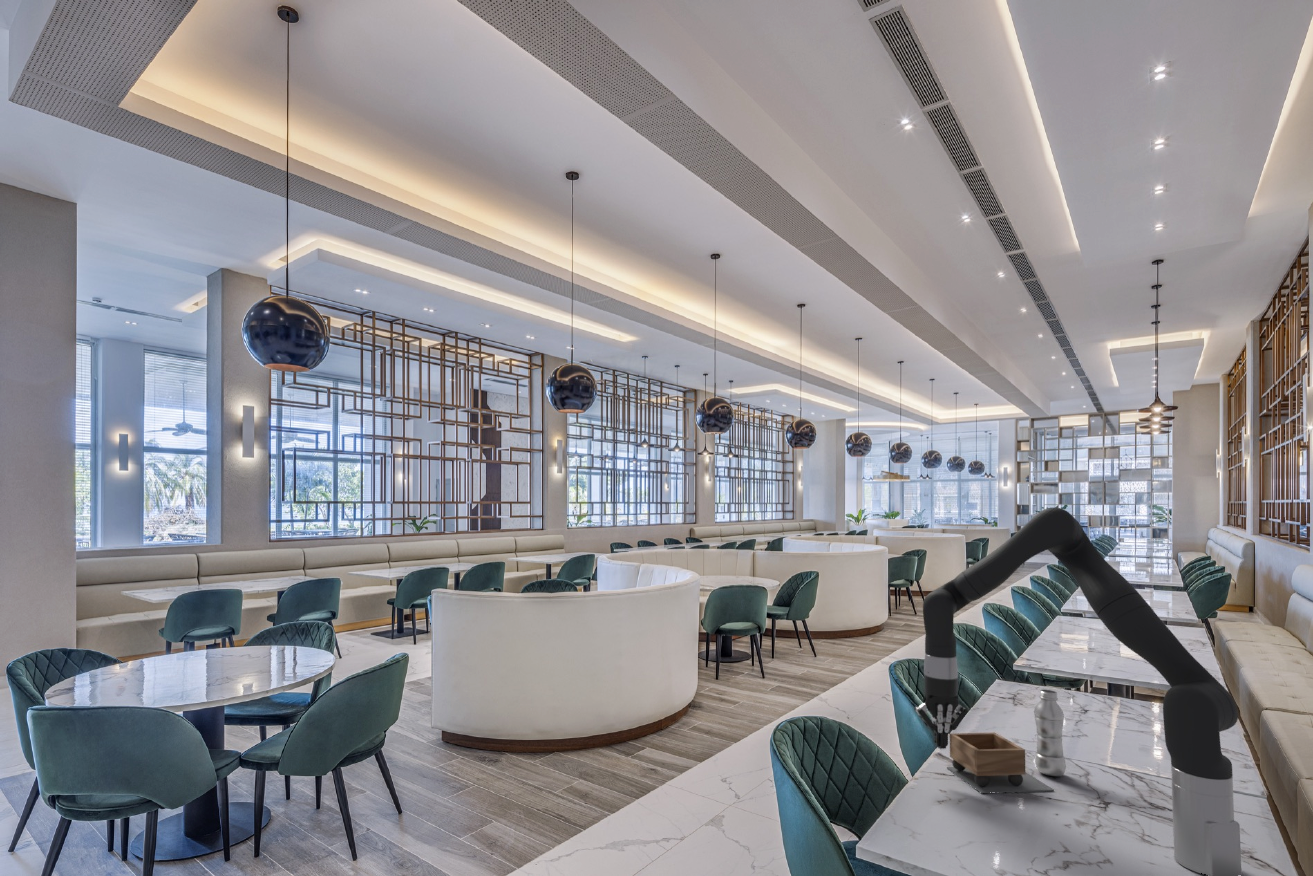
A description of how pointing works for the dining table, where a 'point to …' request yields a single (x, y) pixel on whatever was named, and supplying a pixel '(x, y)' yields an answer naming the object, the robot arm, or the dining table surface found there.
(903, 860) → the dining table surface
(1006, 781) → the gray mat
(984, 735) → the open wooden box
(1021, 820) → the dining table surface
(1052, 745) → the plastic bottle
